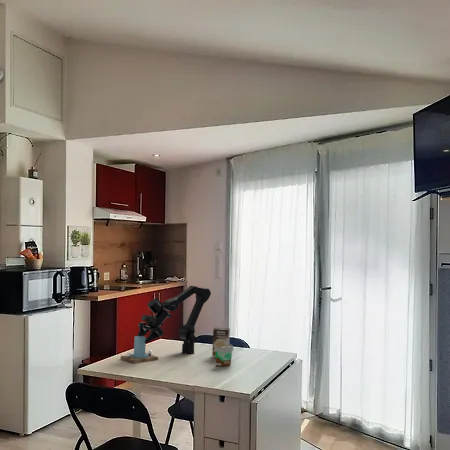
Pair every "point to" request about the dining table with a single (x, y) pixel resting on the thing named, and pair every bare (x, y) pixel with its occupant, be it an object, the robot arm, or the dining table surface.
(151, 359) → the walnut base plate
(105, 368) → the dining table surface
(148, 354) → the dowel pins
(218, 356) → the food container
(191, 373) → the dining table surface
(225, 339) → the coffee box
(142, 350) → the stepped blue block
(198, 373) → the dining table surface
